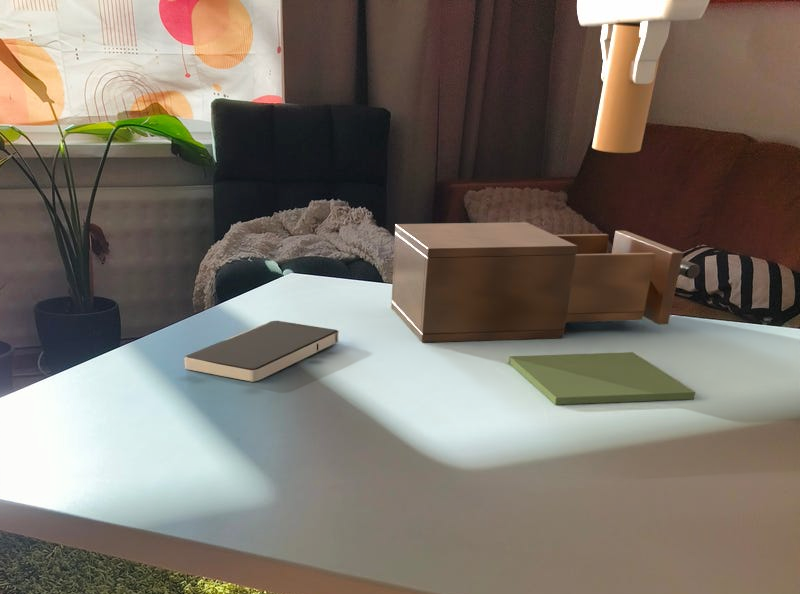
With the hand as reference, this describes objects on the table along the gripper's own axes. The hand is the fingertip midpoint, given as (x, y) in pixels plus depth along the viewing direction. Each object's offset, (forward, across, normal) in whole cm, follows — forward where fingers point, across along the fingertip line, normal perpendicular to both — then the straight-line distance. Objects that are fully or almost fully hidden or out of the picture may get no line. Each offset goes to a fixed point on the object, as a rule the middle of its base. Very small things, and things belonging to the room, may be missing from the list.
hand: (625, 83), depth 84 cm
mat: (+22, -20, +8) cm, 31 cm away
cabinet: (+21, +1, +13) cm, 25 cm away
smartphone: (+21, -10, +36) cm, 43 cm away
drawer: (+21, +1, -1) cm, 21 cm away
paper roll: (+5, +1, 0) cm, 5 cm away
